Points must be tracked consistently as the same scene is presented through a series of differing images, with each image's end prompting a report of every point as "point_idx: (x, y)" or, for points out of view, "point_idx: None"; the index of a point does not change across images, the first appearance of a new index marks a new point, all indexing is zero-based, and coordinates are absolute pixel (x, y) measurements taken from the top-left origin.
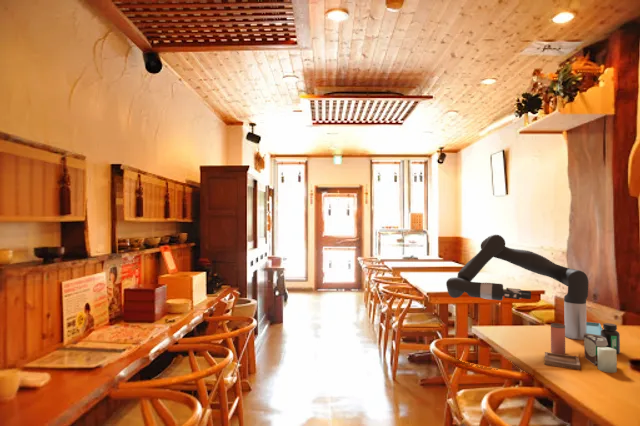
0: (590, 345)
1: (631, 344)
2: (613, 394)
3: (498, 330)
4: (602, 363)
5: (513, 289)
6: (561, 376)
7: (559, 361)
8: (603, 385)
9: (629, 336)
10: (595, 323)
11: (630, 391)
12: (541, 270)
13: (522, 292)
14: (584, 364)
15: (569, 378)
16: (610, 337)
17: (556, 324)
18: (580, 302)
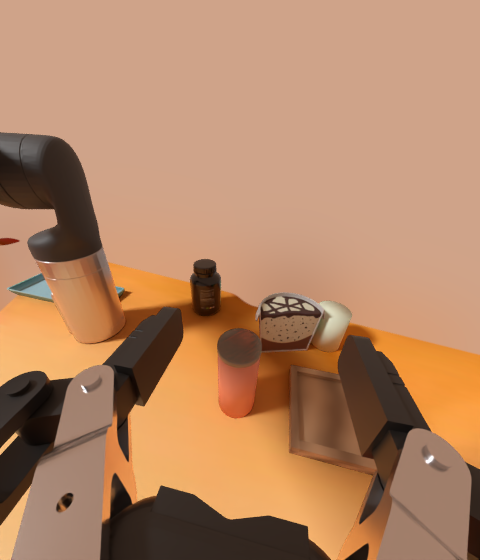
0: (292, 325)
1: (161, 277)
2: (472, 371)
3: None
4: (342, 338)
5: (104, 551)
6: (468, 451)
7: (346, 420)
8: (433, 372)
9: (118, 268)
10: (37, 276)
11: (421, 343)
12: None
13: (139, 379)
14: (312, 366)
15: (462, 431)
16: (219, 285)
17: (236, 346)
18: (100, 245)
